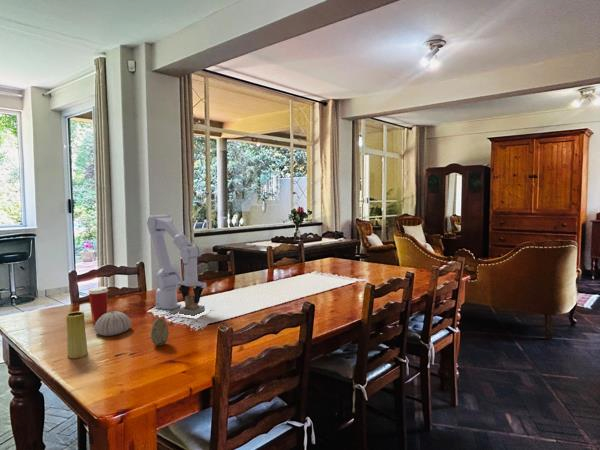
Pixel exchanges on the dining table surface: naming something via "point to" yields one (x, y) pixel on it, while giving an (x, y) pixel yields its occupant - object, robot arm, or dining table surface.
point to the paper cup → (98, 302)
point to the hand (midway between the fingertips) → (191, 302)
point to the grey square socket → (192, 311)
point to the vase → (76, 335)
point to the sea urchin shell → (112, 323)
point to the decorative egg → (159, 332)
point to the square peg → (190, 302)
